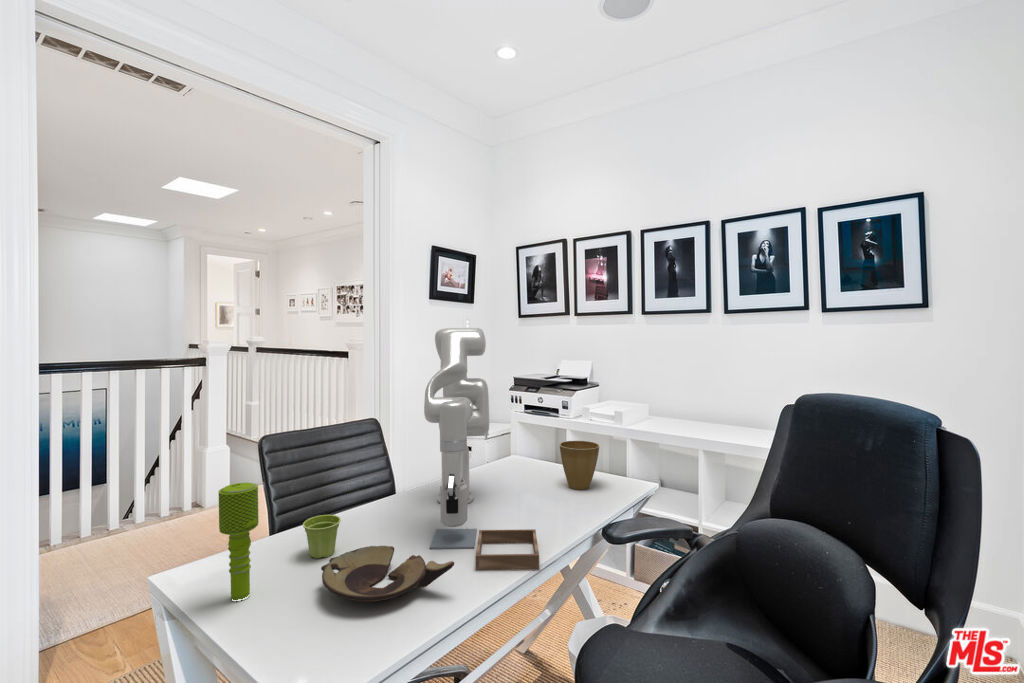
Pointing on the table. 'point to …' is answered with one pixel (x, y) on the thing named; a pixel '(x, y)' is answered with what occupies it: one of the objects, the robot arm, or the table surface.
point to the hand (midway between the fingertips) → (454, 507)
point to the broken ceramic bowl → (377, 574)
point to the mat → (454, 539)
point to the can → (461, 516)
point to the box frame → (507, 559)
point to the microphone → (239, 531)
